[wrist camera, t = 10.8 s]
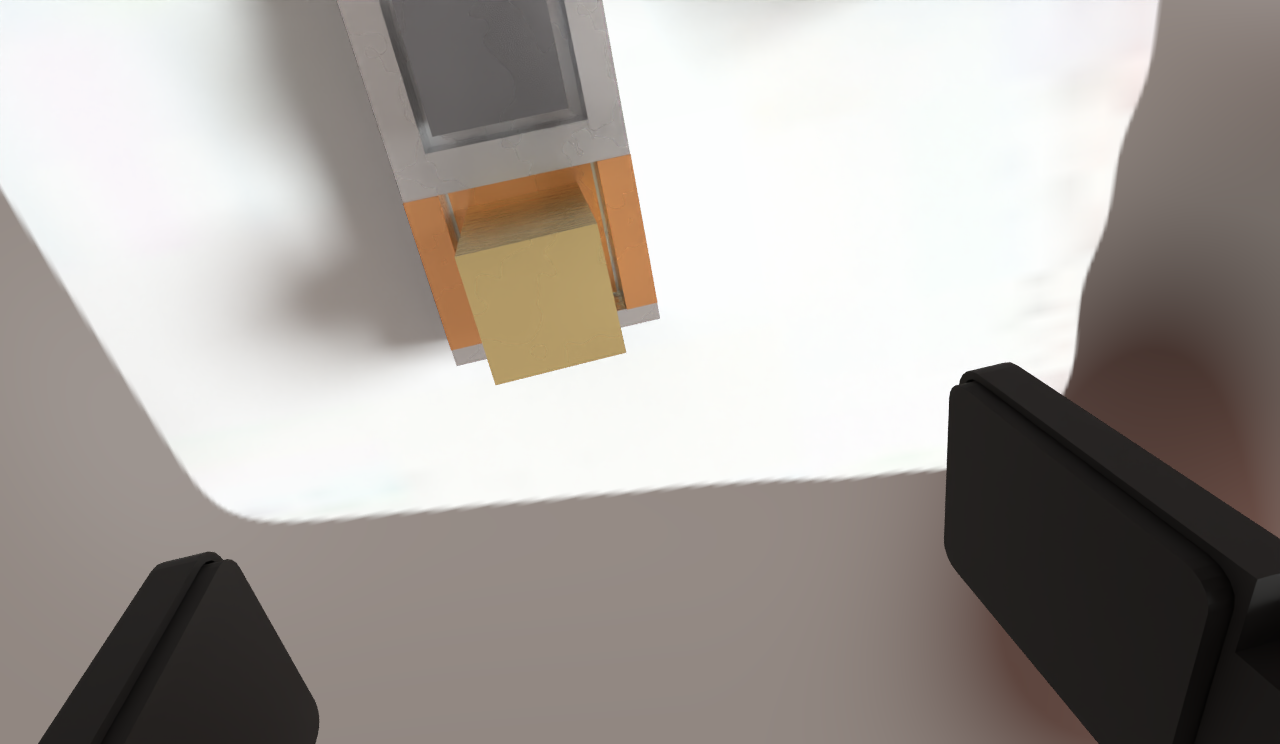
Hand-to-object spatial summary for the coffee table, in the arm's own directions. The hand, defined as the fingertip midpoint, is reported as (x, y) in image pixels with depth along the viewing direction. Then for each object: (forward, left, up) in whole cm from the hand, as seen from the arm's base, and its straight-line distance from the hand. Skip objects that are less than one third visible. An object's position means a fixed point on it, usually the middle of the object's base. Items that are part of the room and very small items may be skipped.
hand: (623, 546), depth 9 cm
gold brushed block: (+1, -1, -20) cm, 20 cm away
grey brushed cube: (-6, -1, -20) cm, 21 cm away
